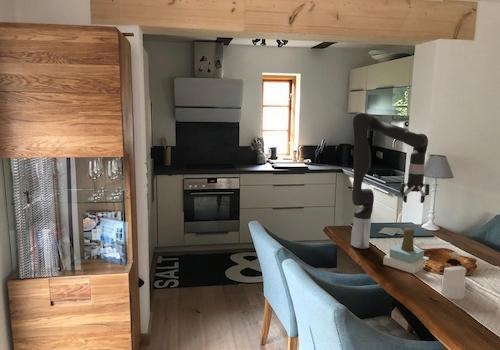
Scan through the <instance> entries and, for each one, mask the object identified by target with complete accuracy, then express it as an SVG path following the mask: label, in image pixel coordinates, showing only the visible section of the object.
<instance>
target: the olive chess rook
mask: <svg viewBox="0 0 500 350" xmlns="http://www.w3.org/2000/svg"><path fill="white" fill-rule="evenodd" d="M414 235H415V230H414V228H410V227H406V228H404V229H403V239H402V243H401V244H402V247H401V249H402V250H403V251H407V252H412V251H414Z"/></svg>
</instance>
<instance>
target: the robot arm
mask: <svg viewBox="0 0 500 350" xmlns="http://www.w3.org/2000/svg"><path fill="white" fill-rule="evenodd" d="M352 128H353V138H354V139H353V181H352V182H353V183H352V190H351V191H352V192H351V193H352V194H351V197H352V198H351V201H352V204H353V206H357V207H359V206H361V207H360V208H359V209H356V210H355V211H354V213H353V227H352V228H351V232H350V233H351V235H350V236H351V237H350V246H351V247H352V246H353V247H354V248H357V249H362V250H363V249H369V248H370V237H371V236H370V234H371V224H372V223H371V222H372V214H373V210H374V209H373V208H374V202H375V201H374V199H375V195H374V192H373V190H372V189H371V188H362V186H363V181H364V178H365V177H366V175H367V174H368V171H369V170H370V168H371V165H372V152H371V148H370V144H369V141H368V131H372V132H377V133H380V134H382V135H384V136H386V137H388V138H390V139H392V140H395V141H399V142H402V143H404V144H406V145H408V146H410V147H412V152H411V154H410V157H409V160H410V161H409V164H408V165H409V166H408V171H407V172H408V174H407V175H408V176H407V182H401V183H400V190H399V194H400V195H402V201H403V202H404V203H407V202H408V195H409V194H410V193H411V192H412V193H413V192H417V193H419V194H420V201H419V202H420V203H421V204H424V203H425V199H426V196H429V195H430V184H429V183H428V182H426V183H424V178H425V163H426V153H427V150H428V146H429V138H428V136H427V135H426V134H425V133H416V132H413V131H411V130H409V129H407V128H406V127H405V128H404V127H401V126H398V125H396V124H392V123H389V122H385V121H383V120H380V119H378V118H376V117H375V116H373V115H371V114H369V113H367V112H358V113H356V114H355V115H354V116H353V119H352ZM406 187H407V188H406ZM423 187H424V190H423Z"/></svg>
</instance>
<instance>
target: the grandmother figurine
mask: <svg viewBox="0 0 500 350" xmlns="http://www.w3.org/2000/svg"><path fill="white" fill-rule="evenodd" d="M450 257H451V258H450V259H447V260H446V261H445V262H444V264H443V265H444V266H446V267H447V265H449V267H455V266H462V267H463V264H462V263H461V261H460V260H458V258H459V253H458V252H457V251H452V252H451V253H450Z"/></svg>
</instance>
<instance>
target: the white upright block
mask: <svg viewBox="0 0 500 350" xmlns="http://www.w3.org/2000/svg"><path fill="white" fill-rule="evenodd" d="M466 272H467V268H466V267H464V266H463V265H462V266H459V265H458V266H455V267H450V266H448V267H447V266H446V267H444V269H443V276H442V278H441V284H440V285H441V287H440V294H441V295H442V296H443V297H446V298H447V299H450V298H452V299H451V300H457V299H459V300H463V299H464V298H465V291H466V282H465V279H466Z"/></svg>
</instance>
